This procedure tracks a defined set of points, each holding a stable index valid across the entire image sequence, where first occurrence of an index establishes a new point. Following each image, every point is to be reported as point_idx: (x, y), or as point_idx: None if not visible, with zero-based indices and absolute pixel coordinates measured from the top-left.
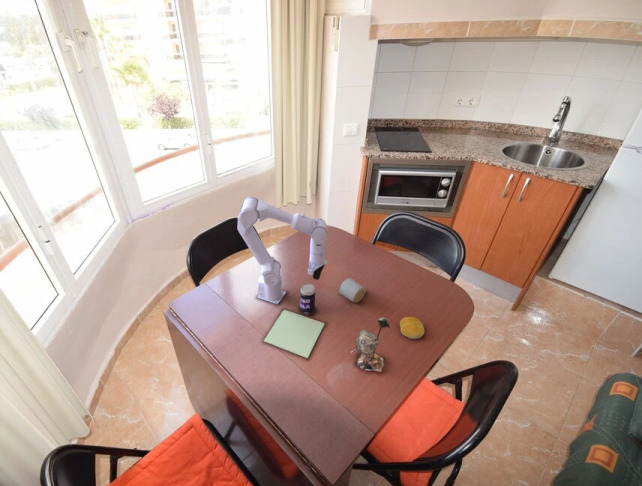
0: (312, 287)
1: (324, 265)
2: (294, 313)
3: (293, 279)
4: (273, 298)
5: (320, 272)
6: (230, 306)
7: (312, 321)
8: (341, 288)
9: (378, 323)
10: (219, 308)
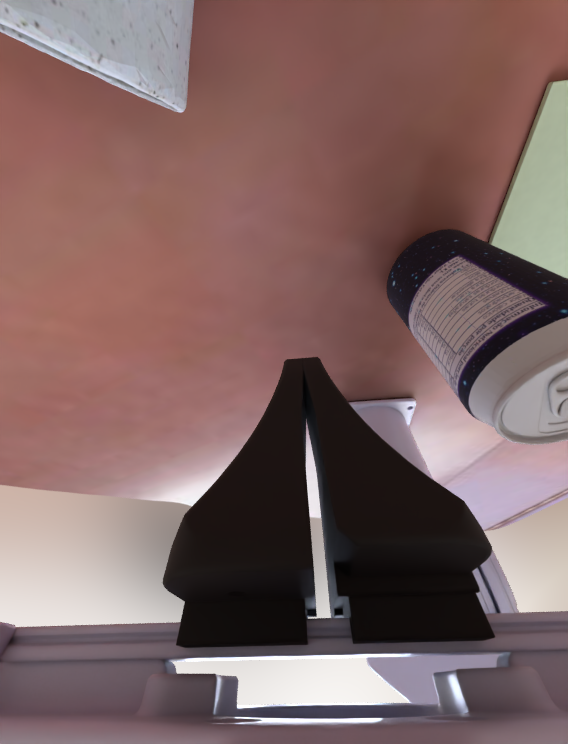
0: (556, 368)
1: (284, 556)
2: None
3: (241, 412)
4: (408, 427)
5: (341, 432)
6: (452, 479)
7: (527, 195)
8: (168, 64)
9: None
10: (464, 490)
